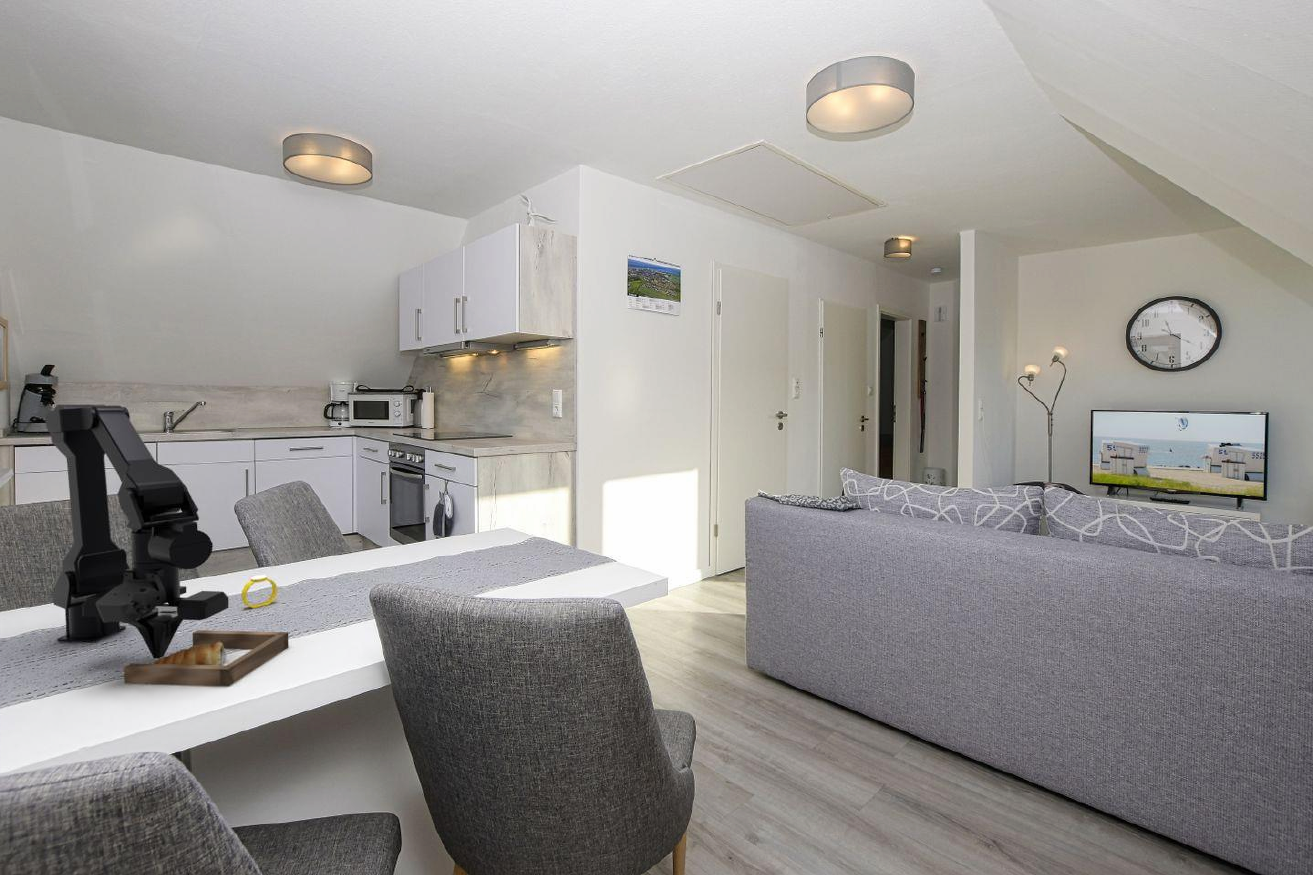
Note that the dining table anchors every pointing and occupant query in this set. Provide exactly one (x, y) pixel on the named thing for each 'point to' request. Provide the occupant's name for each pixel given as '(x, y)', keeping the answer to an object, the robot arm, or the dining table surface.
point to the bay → (212, 675)
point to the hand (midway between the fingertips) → (158, 657)
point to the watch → (253, 580)
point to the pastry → (197, 655)
